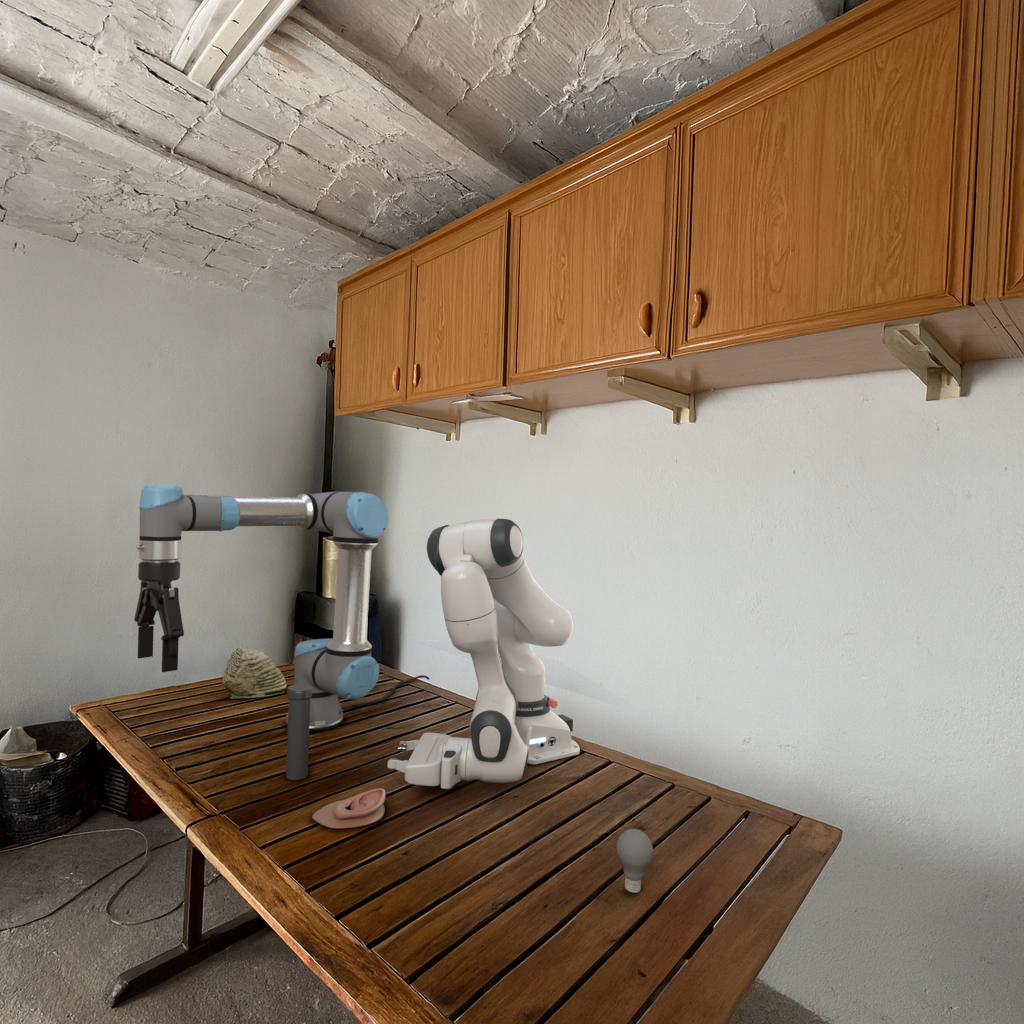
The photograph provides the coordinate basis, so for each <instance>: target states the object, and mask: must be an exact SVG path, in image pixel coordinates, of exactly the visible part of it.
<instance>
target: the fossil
mask: <svg viewBox="0 0 1024 1024" xmlns="http://www.w3.org/2000/svg"><path fill="white" fill-rule="evenodd" d="M222 676H223V677H222V685H223V687H224V688H225V690H226V691H228V693H229V698H230V699H250V698H264V697H271V696H275V695H281V694H284V693H285V691H287V690H286V689H287V688H288V686H287V680H286V678H285V676H284V674H283V673H282V672H281V669H279V668H278V667H277V665H276V663H275V662H274V660H273V659H272V658H271V657H270V656H269V655H268V654H267V653H266V652H265V650H264V649H263V648H260V647H258V648H251V647H247V646H246V647H245V646H238V647H237V648H236V649H235V650H233V651H232V653H231V656H230V657H229V659H228V660H227V663H226V666H225V668H224V671H223V675H222Z"/></svg>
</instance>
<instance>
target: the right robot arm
mask: <svg viewBox="0 0 1024 1024" xmlns="http://www.w3.org/2000/svg"><path fill="white" fill-rule="evenodd" d="M523 550H524V539H523V533H522V530H521V528H520V527H519V525H518V524H517V523H516V522H514V521H513V520H511V519H508V518H500V517H499V518H496V519H476V520H475V519H474V520H469V521H465V522H460V523H455V524H451V525H450V524H445V525H441V526H440V527H436V528H435V529H433V530H432V531H431V532H430V534H429V537H428V538H427V542H426V554H427V557H428V560H429V562H430V564H431V566H432V567H433V569H434V570H435V571H436V572H437V574H439V576H440V597H441V607H442V612H443V617H444V622H445V627H446V631H447V633H448V636H449V639H450V641H451V643H452V645H453V647H454V648H455V649H457V650H459V651H460V652H462V653H466V654H469V655H470V658H471V659H472V663H473V668H474V672H475V676H476V680H477V685H478V686H477V693H476V695H475V702H474V707H473V710H472V714H471V718H470V722H469V733H470V738H469V737H456V736H452V735H450V734H445V733H438V732H424V733H422V735H421V736H420V738H419V739H412V740H408V741H403V740H401V741H400V742H398V745H397V751H398V752H407V751H412V753H411V755H410V757H409V759H408V760H406V759H404V760H400V759H398V758H397V757H390V758H389V759H388V760H387V769H390V770H391V769H392V770H396V771H399V772H400V773H404V781H405V782H406V783H408V784H410V785H415V786H425V787H437V786H439V785H440V788H441V789H443V790H450V789H452V788H453V787H454V786H455V785H456V784H457V783H460V782H461V781H465V782H470V781H473V780H477V781H482V782H484V783H495V784H509V783H516V782H518V781H521V780H522V778H523V777H524V776H525V773H526V770H527V766H528V764H529V765H538V764H544V763H547V762H551V761H557V760H561V759H565V758H570V757H574V756H579V755H580V753H581V748H580V745H579V744H578V743H577V742H576V741H575V740H574V739H573V738H572V733H571V732H573V731H574V730H573V729H574V719H573V718H571V717H568V716H566V715H564V714H557V713H555V712H554V711H553V710H551V708H552V709H556V708H557V707H558V705H559V703H558V701H557V700H555V699H554V698H551V697H550V696H548V695H546V694H545V691H546V667H545V664H544V663H543V661H542V660H541V659H540V658H539V657H538V656H537V655H536V654H535V653H534V650H533V649H532V646H531V645H534V646H539V647H547V648H548V647H549V648H550V647H561V646H564V645H565V644H566V643H567V642H568V641H569V640H570V639H571V636H572V634H573V631H574V620H573V617H572V613H570V611H569V610H568V609H567V608H566V607H565V606H562V605H560V604H559V603H558V602H556V601H555V600H554V599H552V598H551V597H550V596H549V595H548V594H547V592H545V590H544V589H543V588H542V587H541V586H540V585H539V584H538V582H537V581H536V579H535V578H534V576H533V574H532V572H531V569H530V568H529V565H528V563H527V561H526V558H525V555H524V553H523Z"/></svg>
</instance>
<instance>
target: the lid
mask: <svg viewBox="0 0 1024 1024" xmlns="http://www.w3.org/2000/svg"><path fill="white" fill-rule="evenodd" d="M286 692H287V693H286V698H288V700H289V699H293V700H303V699H307V698H310V697H311V696H312V686H311V685H309V684H295V685H294V684H292V685H289V686H287V690H286Z"/></svg>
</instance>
